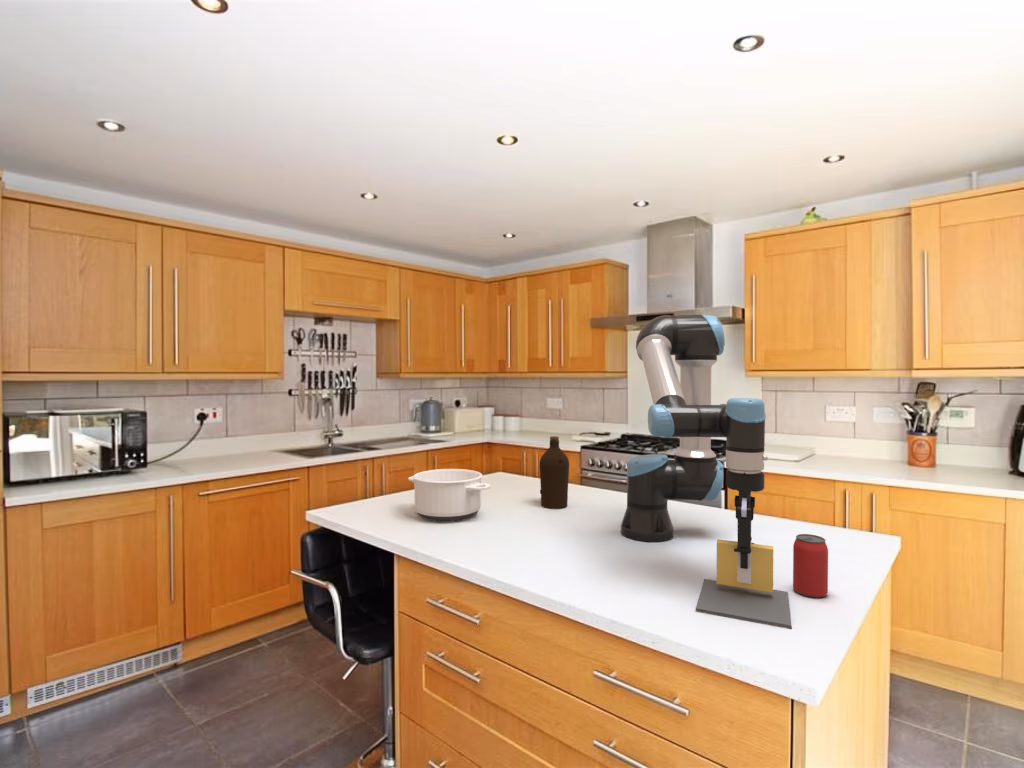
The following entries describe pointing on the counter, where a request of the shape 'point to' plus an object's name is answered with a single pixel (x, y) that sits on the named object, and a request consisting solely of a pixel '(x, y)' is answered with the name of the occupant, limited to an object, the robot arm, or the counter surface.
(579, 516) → the counter surface
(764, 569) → the slab
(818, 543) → the beer can
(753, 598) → the mat
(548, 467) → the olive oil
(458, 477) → the pot
